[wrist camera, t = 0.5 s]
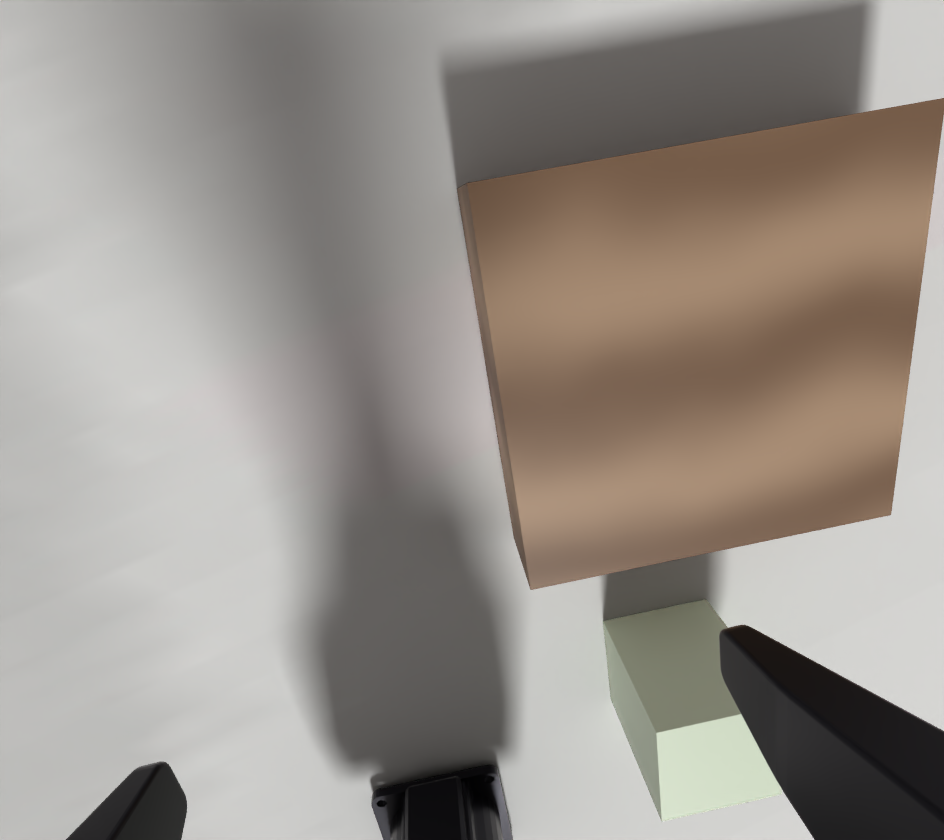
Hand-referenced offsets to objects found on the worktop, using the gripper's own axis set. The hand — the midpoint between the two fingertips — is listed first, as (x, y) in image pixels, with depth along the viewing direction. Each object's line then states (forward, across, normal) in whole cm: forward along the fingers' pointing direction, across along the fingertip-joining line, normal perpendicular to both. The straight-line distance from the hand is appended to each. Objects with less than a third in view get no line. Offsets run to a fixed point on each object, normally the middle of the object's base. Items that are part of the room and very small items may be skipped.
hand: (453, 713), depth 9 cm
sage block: (+14, -8, +14) cm, 21 cm away
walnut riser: (+14, -10, -1) cm, 17 cm away
